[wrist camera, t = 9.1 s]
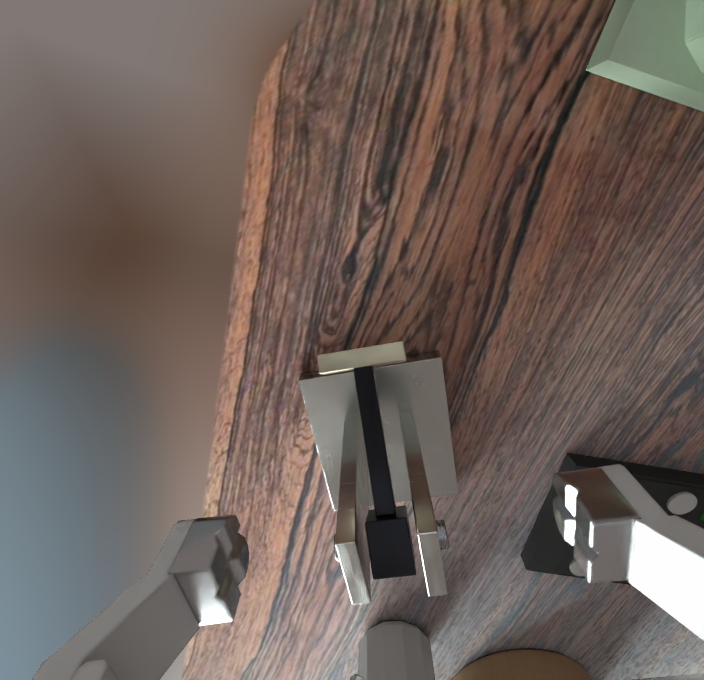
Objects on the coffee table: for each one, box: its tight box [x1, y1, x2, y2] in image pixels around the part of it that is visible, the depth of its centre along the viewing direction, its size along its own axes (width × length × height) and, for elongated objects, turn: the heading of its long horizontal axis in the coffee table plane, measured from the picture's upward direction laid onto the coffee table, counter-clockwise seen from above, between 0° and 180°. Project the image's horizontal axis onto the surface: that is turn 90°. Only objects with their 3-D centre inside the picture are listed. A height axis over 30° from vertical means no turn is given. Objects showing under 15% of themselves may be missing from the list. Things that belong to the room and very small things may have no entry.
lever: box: [317, 341, 416, 580], centre depth 23 cm, size 12×5×2 cm
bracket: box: [298, 351, 458, 605], centre depth 26 cm, size 12×10×12 cm
